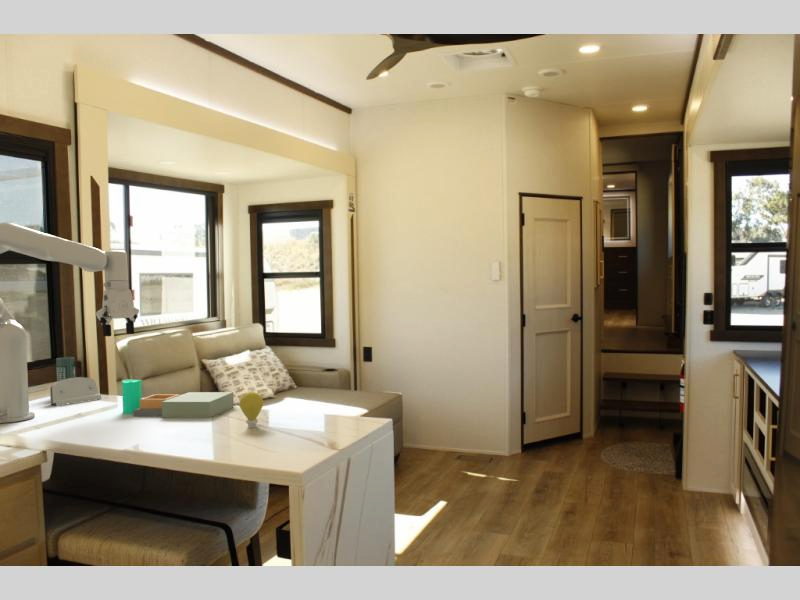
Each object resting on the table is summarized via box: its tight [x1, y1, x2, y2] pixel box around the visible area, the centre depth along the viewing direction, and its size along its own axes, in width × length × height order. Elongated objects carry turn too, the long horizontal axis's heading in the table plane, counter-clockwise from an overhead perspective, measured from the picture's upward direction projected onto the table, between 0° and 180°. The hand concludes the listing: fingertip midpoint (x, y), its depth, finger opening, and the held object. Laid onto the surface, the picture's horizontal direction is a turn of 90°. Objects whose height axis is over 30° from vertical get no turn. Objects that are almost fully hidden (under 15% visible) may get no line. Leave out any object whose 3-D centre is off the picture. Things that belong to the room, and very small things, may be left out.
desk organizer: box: [132, 391, 234, 419], centre depth 216 cm, size 18×27×5 cm, turn 81°
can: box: [55, 356, 76, 383], centre depth 254 cm, size 6×6×15 cm
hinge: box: [49, 376, 102, 406], centre depth 242 cm, size 17×5×10 cm, turn 140°
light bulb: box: [239, 391, 264, 429], centre depth 190 cm, size 7×7×10 cm
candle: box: [121, 375, 143, 415], centre depth 218 cm, size 6×6×12 cm
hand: (119, 334), depth 229 cm, fingers open, 9 cm apart
